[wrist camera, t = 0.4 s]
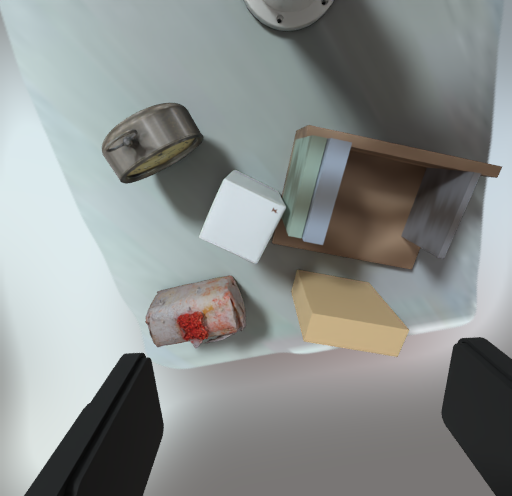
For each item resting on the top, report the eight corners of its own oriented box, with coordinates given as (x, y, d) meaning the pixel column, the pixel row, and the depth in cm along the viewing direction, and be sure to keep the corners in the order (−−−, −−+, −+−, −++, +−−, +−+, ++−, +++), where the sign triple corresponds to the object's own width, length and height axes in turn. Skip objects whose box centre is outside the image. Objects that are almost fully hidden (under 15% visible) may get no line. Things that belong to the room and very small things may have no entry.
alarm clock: (148, 180, 41) (84, 198, 26) (124, 145, 40) (42, 143, 24) (212, 141, 40) (184, 135, 24) (190, 103, 38) (146, 71, 23)
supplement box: (233, 167, 41) (224, 175, 29) (279, 191, 42) (289, 207, 30) (212, 213, 43) (196, 238, 31) (257, 234, 44) (257, 266, 32)
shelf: (296, 130, 39) (318, 120, 25) (447, 163, 40) (545, 169, 27) (271, 240, 44) (279, 281, 30) (406, 265, 46) (471, 315, 32)
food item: (237, 267, 46) (232, 297, 36) (249, 309, 48) (247, 347, 39) (156, 285, 47) (131, 319, 37) (172, 326, 49) (153, 367, 40)
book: (297, 269, 46) (312, 313, 34) (368, 282, 47) (409, 329, 34) (291, 291, 47) (303, 341, 35) (361, 303, 48) (397, 356, 36)
